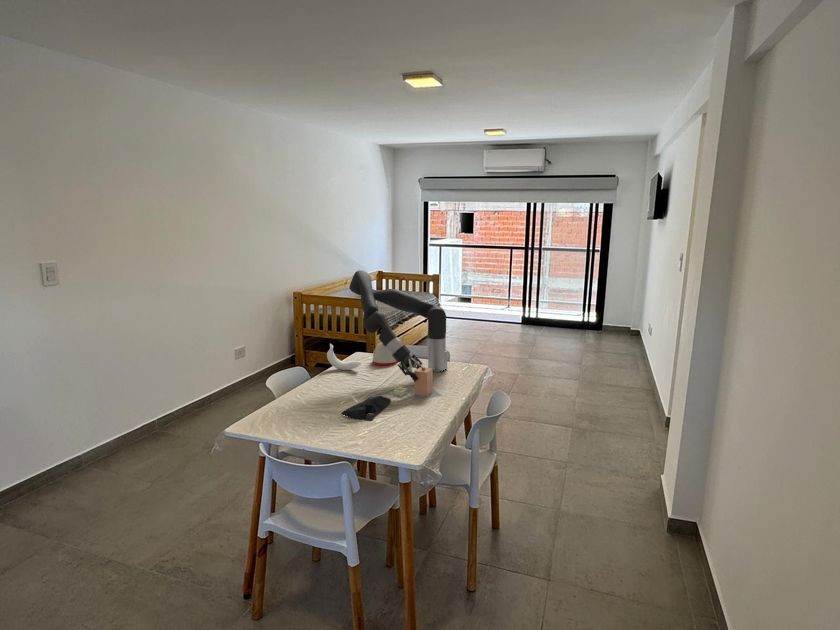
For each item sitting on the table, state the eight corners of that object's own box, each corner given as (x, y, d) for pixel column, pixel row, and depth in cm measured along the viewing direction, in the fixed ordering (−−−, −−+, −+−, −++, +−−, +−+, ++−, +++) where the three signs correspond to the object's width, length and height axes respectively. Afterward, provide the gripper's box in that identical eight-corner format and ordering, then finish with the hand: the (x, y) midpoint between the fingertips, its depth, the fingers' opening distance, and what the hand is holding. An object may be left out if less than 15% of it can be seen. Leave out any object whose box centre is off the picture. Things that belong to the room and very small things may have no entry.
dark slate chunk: (397, 404, 213) (397, 394, 213) (369, 423, 194) (369, 412, 193) (367, 399, 220) (367, 389, 219) (337, 416, 201) (337, 405, 200)
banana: (360, 372, 256) (359, 345, 253) (325, 370, 260) (324, 343, 257) (363, 369, 261) (362, 342, 258) (329, 367, 265) (328, 341, 262)
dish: (398, 392, 226) (398, 387, 226) (407, 394, 224) (406, 388, 224) (393, 396, 222) (393, 390, 222) (402, 397, 220) (402, 391, 220)
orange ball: (402, 392, 225) (402, 385, 225) (404, 394, 222) (404, 388, 222) (396, 393, 224) (396, 386, 223) (398, 395, 221) (398, 389, 221)
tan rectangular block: (420, 390, 228) (420, 364, 225) (432, 391, 225) (432, 366, 223) (414, 394, 222) (414, 368, 220) (427, 396, 220) (426, 370, 217)
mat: (430, 388, 231) (430, 387, 231) (442, 396, 221) (442, 395, 220) (407, 392, 227) (407, 391, 227) (417, 401, 216) (417, 399, 216)
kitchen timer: (399, 359, 280) (399, 333, 277) (396, 366, 266) (395, 339, 263) (375, 358, 281) (374, 332, 278) (370, 365, 267) (369, 338, 264)
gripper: (399, 350, 233) (422, 377, 230) (385, 358, 220) (408, 387, 218) (410, 340, 229) (432, 367, 227) (395, 348, 217) (419, 377, 214)
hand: (420, 377), depth 222 cm, fingers open, 8 cm apart
